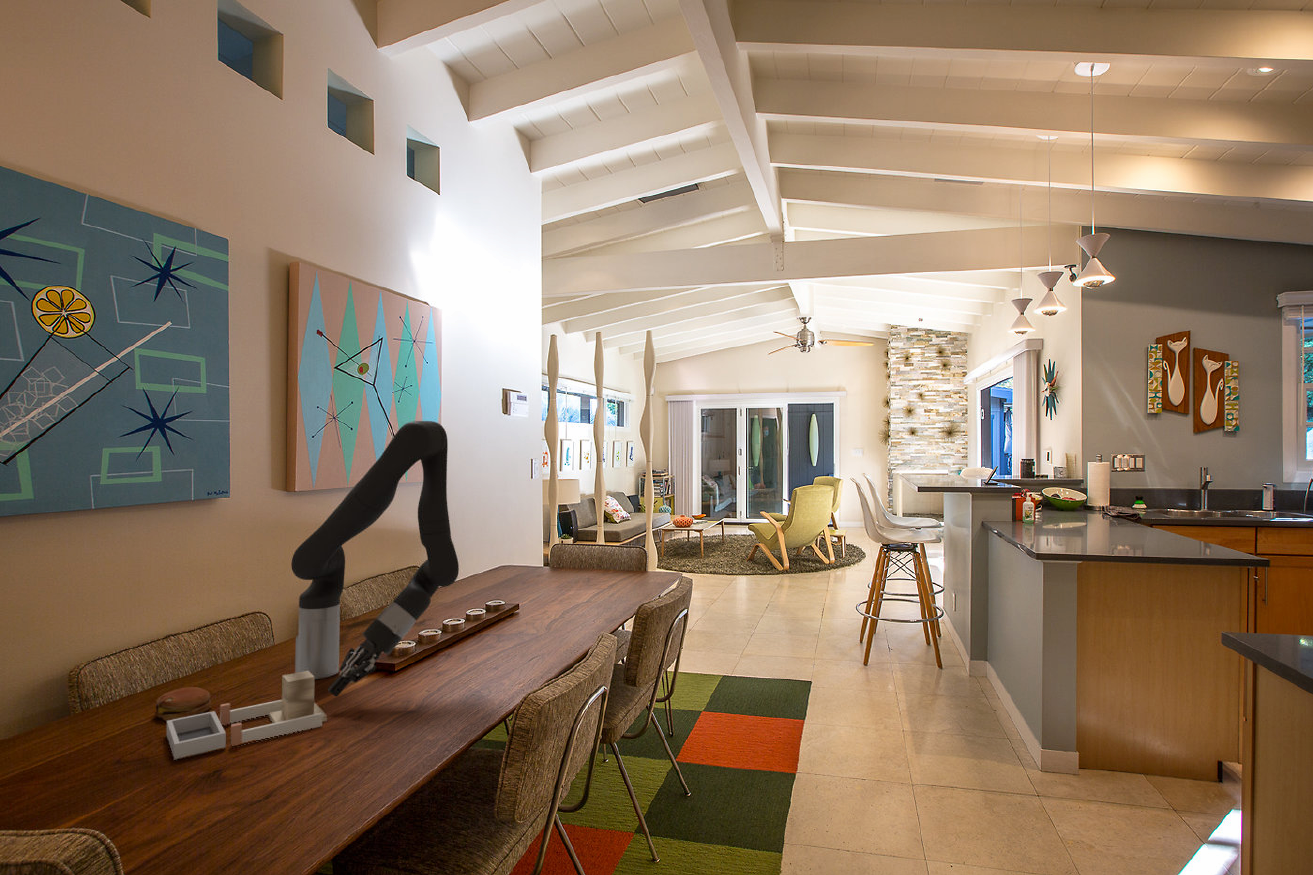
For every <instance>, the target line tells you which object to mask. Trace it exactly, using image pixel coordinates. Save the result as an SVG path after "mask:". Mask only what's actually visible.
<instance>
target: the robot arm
mask: <svg viewBox="0 0 1313 875" xmlns="http://www.w3.org/2000/svg"><path fill="white" fill-rule="evenodd" d="M386 446H387V447H386V448H385V450H384V451H383V452H382V454H381V455H380V456H379V458H378V459H377V460H376V461H375V463H374V464H373V465H372V466H371V467H370V468H369V469H368V470H367V472H366V473H365V474H364V475H363V476H362V478H361V479H360V480H358V482H357V483H356V484H355V485H354V487H353V488H352V489H351V490H350V491H349V493H347V495H346V496H345V497H344V498H343V500H341V503H339V504H338V506H337V507H336V508H335V509H334V510H333V511H332V512H331V514H330V515H329V516H328V517H327V518H326V520H325V521H324V522H323V523H322V524H321V525H320V526H319V527H318V528H317V529H316V530H315V531H314V532H313V533H311V535H310V536H309V537H307V539H305V540H304V541H303V542H302V543H301V544H300V545H299V546H298V547H297V548H296V549H295V551H294V553H293V555H292V557H291V558H292V559H291V565H290V566H291V570H292V572H293V575H294V576H296V578H298V579H300V580H303V581H312V582H311V583H310V584H309V586H308V588H307V589H305V590H304V591H303V592H302V593H301V594H300V595H299V598H298V635H296V636H295V663H294V664H295V668H294V669H295V670H294V671H295V672H294V673H298V672H303V671H309V672H310V673H311V674H312V675H313V676H314V677H315V680H318V679H325V678H329V677H332V676H334V675H337V674H338V673H339V676H338V677H337V678H336V679H335V680H334V681H333V682H332V683H331V685H330V686H329V687H328V688H327V690H328V692H329V693H330V694H331V695H332V696H334V697H339V695H340V694H341V693H342V692H343V690H344V689H345V688H346V687H347V686H348V685H349V684H351V683H353V682H354V683H357V682H359V681H361V680H362V679H363V678H366V676H368V675H369V674H371V673H373V672H374V671H375V670H376V669H377V665H375V663H376V661H378V659H379V658H380V656H381V655H382V653H384V654H385V655H389V654H391V653H392V652H393V651H394V649H395V648H396V647H397V645H398V644H400V642H401V641H402V640H403V638H404V637H405V636H407V634H408V633H409V632H410V630H412V627H413V626H414V624H415V623H416V621H418V619H419V618H420V617H421V616H422V615H423V614H424V612H425V611H426V610H427V609H428V607H429V606H430V605H431V598H432V597H433V595H434V594H435V593H436V591H438V589H439V588H440V587H441V588H445V587H449V586H451V585H453V584H454V583H455V582H456V581H457V578H458V577H459V570H460V568H459V566H460V565H459V560H458V555H457V552H456V549H455V545H454V542H453V539H452V534H451V526H450V525H451V524H450V516H449V515H450V514H449V507H448V506H449V505H448V495H447V491H448V490H447V489H448V488H447V483H448V480H447V478H448V452H449V451H448V434H447V432H446V430H445V428H444V427H443V425H441V424H440V423H439V422H436V421H431V420H413V421H410V422H409V421H408V422H407V423H405V424H403V425H402V426H401V427H400V428H399V429H398V431H396V433H395V434H394V436H393V438H392V439H391V440H390V442H389V443H388V445H386ZM419 461H420V462H421V467H422V473H423V474H422V476H423V478H422V486H421V490H420V491H421V492H420V497H419V499H418V500H419V501H418V507H417V522H418V531H419V537H420V538H419V539H420V542H421V544H422V546H423V547H424V549H425V551H426V557H427V559H426V560H425V561H423V563H422V564H421V565H420V567H418V568H417V570H416V571H415V573H414V575H413V576H412V577H411V579H410V581H409V582H408V584H407V585H406V586H405V588H403V590H402V591H401V592H400V593H399V594H398V595H397V596H396V597H395V598H394V599H393V600H392V601H391V603H390V604H389V605H387V606H386V607H385V608H384V609H383V610H382V611H381V612H380V614H378V616H376V618H375V619H374V620H373V621H372V622H371V623H370V624H369V626H367V627H366V629H365V630H364V631H363V633H362V636H363V637H364V639H365V640H364V641H362V643H360V644H359V646H357V647H356V648H353V647H350V649H349V650H348V651H347V653H346V655H345V657H344V659H343V661H342V663H341V665H340V616H341V615H340V613H341V611H340V608H341V607H340V606H341V604H340V603H341V596H342V594H343V592H344V586H345V570H346V554H345V550H344V547H343V545H344V544H346V543H347V542H349V541H350V540H351V539H353V538H354V537H356V536H358V535H359V534H361V533H362V532H363V531H365V530H367V529H368V528H369V527H371V526H372V525H373V524H374V523H375V522H377V520H379V519H380V517H382V515H383V514H384V513H385V512H386V510H387V509H388V508H389V507H390V505H391V504H392V502H393V501H394V498H395V495H396V492H397V488H398V485H399V482H400V481H401V479H402V478H403V476H404V475H405V474H406V473H407V472H408V471H409V470H410V469H411V468H412V466H414V465H415V464H416V463H417V462H419ZM339 671H340V672H339Z"/></svg>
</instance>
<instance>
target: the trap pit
mask: <svg viewBox="0 0 1313 875" xmlns="http://www.w3.org/2000/svg"><path fill="white" fill-rule="evenodd" d="M226 735H227V733H226V731H225V728H224V727H223V726H222V725H221V723H220V718H219V717H218V715H217V713H216V711H215V710H213V711H209V712H208V711H207V712H203V713H200V714H197V715H193V716H188V717H183V718H178V719H173V720H168V721H166V739H167V742H168V741H169V742H168V746H169V745H170V746H169V749H170V748H171V749H170V751H172V752H171V755H172V758H173V757H174V758H173V761H174V760H176V761H178V760H177V759H179V758H183V757H186V756H191V755H197V754H201V753H205V752H208V751H212V750H216V749H220V748H225V747H226V746H227V745H226V741H227V736H226ZM201 755H202V754H201ZM197 756H198V755H197Z"/></svg>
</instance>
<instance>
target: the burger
mask: <svg viewBox="0 0 1313 875" xmlns="http://www.w3.org/2000/svg"><path fill="white" fill-rule="evenodd" d="M210 697H211V694H210V692H209V691H207V690H206V689H203V688H201V687H196V686H195V687H194V686H190V687H188V686H187V687H186V686H185V687H182V688H177V689H174V690H172V691H171V690H170V691H168V692H165V693H163V694H162V695H161V696H159V697H158V698H157V700H156V701H155V710H156V711H155V712H154V715H157V717H158V718H159V719H162V720H163V721H166V722H167V721H168V720H173V719H178V718H183V717H188V716H193V715H198V714H203V713H206V711H207V712H208V710H210V709H211V707H212V703H211V701H212V699H211V698H210Z"/></svg>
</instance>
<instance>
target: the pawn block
mask: <svg viewBox="0 0 1313 875" xmlns="http://www.w3.org/2000/svg"><path fill="white" fill-rule="evenodd" d="M281 678H282V679H281V680H282V681H281V683H282V684H281V686H282V687H281V700H282V710H280V711H276V712H271V713H269V715H268V718H270V719H269V720H270V722H271V721H272V722H271V724H273V723H277V722H282V721H286V720H290V719H295V718H299V717H304V716H308V715H313V714H317V713H322V723H323V722H327V721H328V716H327V714H326V713H325V712H324V711H323V710H322V709H321V707H319V705H318V704H317V703H316V702H315V680H316V679H315V677H314V676H313V675H312V674H311V673H310V672H309V671H303V672H298V673H295V672H294V673H289V674H283V675H282V676H281Z"/></svg>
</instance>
